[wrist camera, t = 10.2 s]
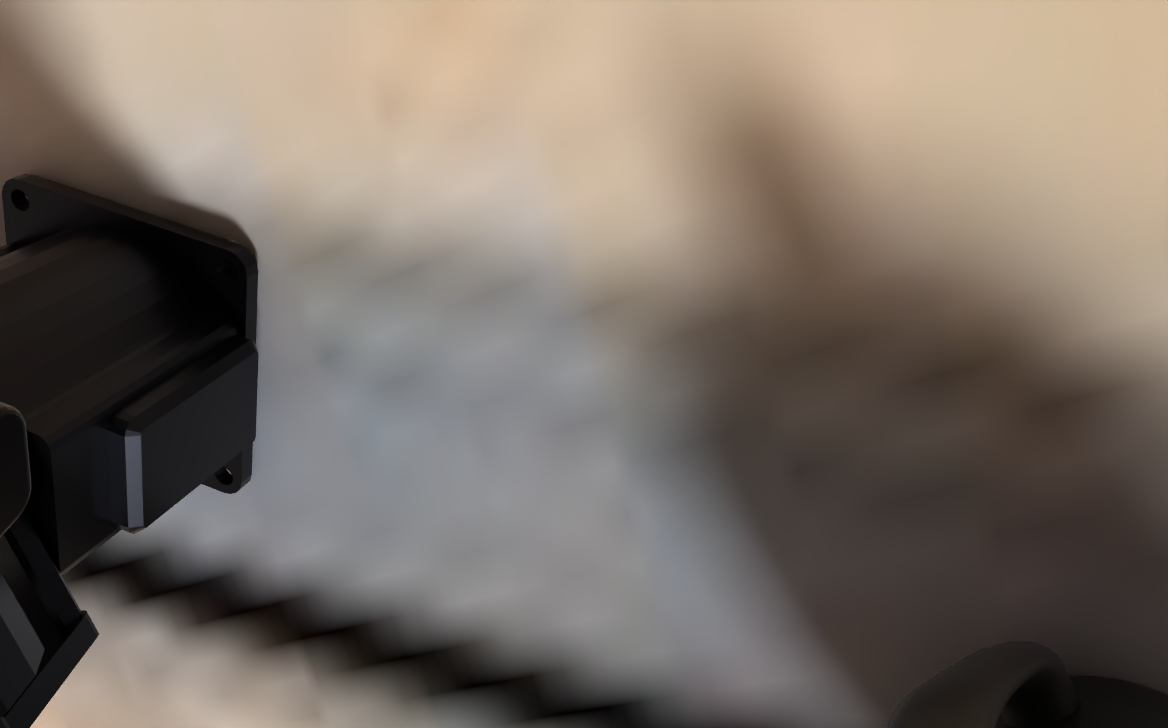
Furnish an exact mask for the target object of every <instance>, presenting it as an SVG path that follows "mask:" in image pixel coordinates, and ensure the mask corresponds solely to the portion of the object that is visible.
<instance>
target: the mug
mask: <svg viewBox="0 0 1168 728" xmlns="http://www.w3.org/2000/svg"><path fill="white" fill-rule="evenodd" d="M887 728H1168V695H1166V694H1164V693H1161V692H1159V691H1156V690H1154V689H1151V688H1147V687H1144V686H1140V685H1137V684H1134V683H1130V682H1126V681H1122V680H1115V679H1107V678H1099V677H1090V676H1079V677H1069V675H1068V673H1067V671H1066V669H1065V667H1064V665H1063V663H1062V661H1061V660H1060V658H1059V657H1058V655H1057V654H1056V653H1055V652H1054V651H1052V650H1051V649H1049V648H1046V647H1044V646H1041V645H1039V644H1037V643H1034V642H1007V643H1003V644H1000V645H996V646H993V647H989V648H986V649H982V650H980V651H978V652H976V653H974V654H972V655H970V656H968V657H967V658H965V659H963V660H962V661H960V662H958V663H957V664H955V665H953V666H951V667H950V668H948V669H946V670H945V671H943V672H941V673H940V674H938V675H936V676H935V677H933V678H932V679H930V680H929V681H927V682H926V683H924V684H923V685H921V686H920V687H918V688H917V689H916V690H914V691H913V692H912V693H911V694H910V695H909V696H907V697H906V698H905V699H904V701H903V702H902V703H901V704H900V705H899V707H898V708H897V709H896V711H895V712H894V714H893V716H892V718H891V720H890V722H889V724H888V727H887Z"/></svg>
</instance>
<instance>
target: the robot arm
mask: <svg viewBox="0 0 1168 728" xmlns="http://www.w3.org/2000/svg"><path fill="white" fill-rule="evenodd" d="M25 195H26V196H27V197H28V200H29V201H28V200H27V198H26V196H25ZM2 197H3V208H4V219H5V230H6V241H7V245H5V246H3V247H0V728H30V727H31V725H32V724H33V722H34V721H35V720H36V718H37V717H38V716H39V714H40V713H41V712H42V710H43V709H44V708H45V706H46V705H47V704H48V702H49V701H50V700H51V698H52V697H53V696H54V694H55V693H56V692H57V690H58V689H59V688H60V686H61V685H62V684H63V682H64V681H65V680H66V678H67V677H68V676H69V674H70V673H71V672H72V670H73V669H74V668H75V666H76V665H77V664H78V662H79V661H80V660H81V658H82V657H83V656H84V654H85V653H86V652H87V650H88V649H89V647H90V646H91V645H92V643H93V642H94V641H95V639H96V638H97V637H98V635H99V633H98V631H97V629H96V628H95V626H94V624H93V622H92V620H91V619H90V617H89V615H88V613H87V611H84V610H82V611H81V610H80V609H79V607H78V605H77V603H76V601H75V599H74V598H73V596H72V594H71V592H70V590H69V589H68V587H67V585H66V583H65V581H64V579H63V578H62V576H63V575H64V574H65V573H66V572H68V571H69V570H70V569H72V568H73V567H74V566H75V565H77V564H78V563H79V562H81V561H82V560H83V559H84V558H86V557H87V556H88V555H89V554H91V553H92V552H93V551H95V550H96V549H97V548H98V547H100V546H101V545H102V544H104V543H105V542H106V541H107V540H109V539H110V538H111V537H112V536H114V535H115V534H116V533H118V532H119V531H120V530H121V529H122V530H125V531H127V532H130V533H133V534H135V533H137V532H139V531H141V530H143V529H144V528H146V527H148V526H149V525H150V524H151V523H153V522H154V521H155V520H156V519H158V518H159V517H160V516H161V515H163V514H164V513H165V512H166V511H168V510H169V509H170V508H171V507H173V506H174V505H175V504H176V503H178V502H179V501H180V500H181V499H183V498H184V497H185V496H186V495H188V494H189V493H190V492H191V491H193V490H194V489H195V488H196V487H198V486H199V485H200V484H203V485H206V486H208V487H211V488H214V489H216V490H219V491H221V492H224V493H229V494H232V493H236V492H237V491H239V490H240V489H241V488H242V487H243V486H245V485H246V484H247V483H248V482H249V481H250V479H251V475H252V446H253V441H254V440H255V437H256V409H257V378H258V351H257V348H256V317H257V285H258V269H257V263H256V261H255V259H254V257H253V255H252V254H251V253H250V252H249V251H248V249H247V248H245V247H243V246H241V245H240V244H237V243H234V242H231V241H228V240H225V239H222V238H219V237H216V236H213V235H210V234H207V233H204V232H201V231H198V230H195V229H192V228H189V227H186V226H183V225H180V224H177V223H174V222H171V221H168V220H165V219H162V218H160V217H157V216H154V215H151V214H148V213H145V212H142V211H139V210H136V209H133V208H130V207H127V206H124V205H121V204H118V203H115V202H112V201H109V200H106V199H103V198H100V197H97V196H94V195H91V194H88V193H85V192H82V191H79V190H76V189H73V188H70V187H67V186H64V185H61V184H58V183H55V182H52V181H49V180H46V179H43V178H40V177H37V176H34V175H29V174H24V175H21V176H18V177H15V178H12V179H10V180H8V181H6V182H5V184H4V186H3V191H2ZM228 261H229V262H231V263H233V265H234V266H235V268H236V270H237V274H235V273H234V272H233V271H232V270H231V269H230V267H229V263H228ZM226 469H228V470H229V471H230V473H231V474H232V475H231V474H229V472H228V471H227V470H226Z"/></svg>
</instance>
